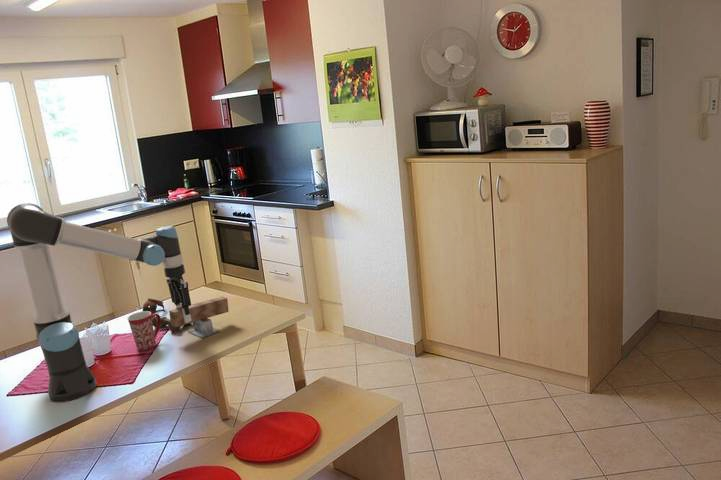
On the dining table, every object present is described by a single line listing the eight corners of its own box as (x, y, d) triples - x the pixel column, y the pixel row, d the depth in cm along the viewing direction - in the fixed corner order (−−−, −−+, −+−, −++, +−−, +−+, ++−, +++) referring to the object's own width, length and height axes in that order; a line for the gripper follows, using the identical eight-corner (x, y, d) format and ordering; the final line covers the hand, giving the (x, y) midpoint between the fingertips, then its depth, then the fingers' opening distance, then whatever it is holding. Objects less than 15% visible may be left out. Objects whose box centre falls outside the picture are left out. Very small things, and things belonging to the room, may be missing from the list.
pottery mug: (139, 314, 276) (144, 297, 278) (160, 318, 280) (165, 301, 281) (141, 315, 265) (146, 297, 267) (163, 319, 269) (167, 302, 270)
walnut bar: (175, 327, 233) (174, 312, 232) (170, 325, 236) (169, 310, 235) (228, 311, 249) (227, 298, 248) (223, 310, 252) (222, 296, 251)
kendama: (164, 323, 262) (200, 324, 253) (149, 332, 253) (186, 334, 245) (161, 310, 260) (197, 311, 252) (146, 319, 252) (182, 321, 243)
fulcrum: (202, 338, 237) (199, 324, 236) (188, 332, 246) (185, 318, 244) (219, 331, 242) (217, 317, 241) (205, 325, 251) (202, 312, 249)
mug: (141, 353, 230) (133, 321, 226) (130, 348, 236) (123, 317, 233) (170, 341, 238) (163, 310, 235) (159, 336, 245) (152, 306, 241)
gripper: (154, 265, 235) (166, 319, 241) (175, 271, 223) (187, 328, 229) (172, 260, 240) (183, 313, 246) (192, 265, 228) (204, 321, 234)
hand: (185, 320), depth 238 cm, fingers open, 4 cm apart
